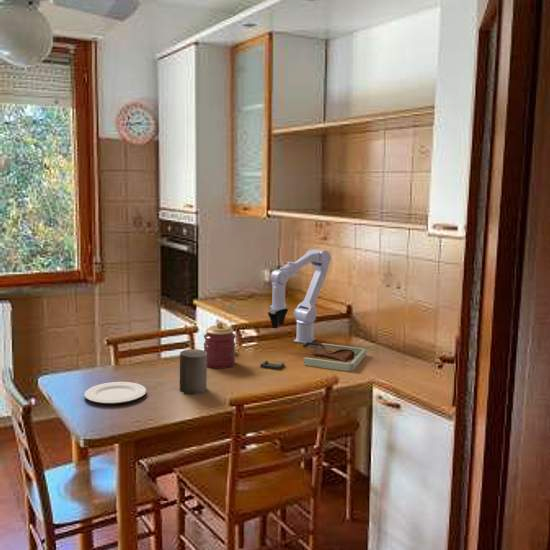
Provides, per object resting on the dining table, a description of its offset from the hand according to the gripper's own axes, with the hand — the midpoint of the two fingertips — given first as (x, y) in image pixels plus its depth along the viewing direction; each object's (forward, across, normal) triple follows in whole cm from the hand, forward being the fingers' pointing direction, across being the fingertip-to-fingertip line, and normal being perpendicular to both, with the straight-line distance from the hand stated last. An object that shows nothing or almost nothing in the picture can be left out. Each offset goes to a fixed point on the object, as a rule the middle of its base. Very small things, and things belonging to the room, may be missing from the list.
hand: (277, 326), depth 275 cm
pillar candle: (+10, +66, -7) cm, 67 cm away
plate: (+10, +83, -28) cm, 88 cm away
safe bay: (+9, +9, +30) cm, 33 cm away
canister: (+10, +35, -12) cm, 38 cm away
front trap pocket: (+9, +29, +9) cm, 32 cm away
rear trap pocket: (+9, -6, +15) cm, 19 cm away
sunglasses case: (+10, +4, +27) cm, 29 cm away
